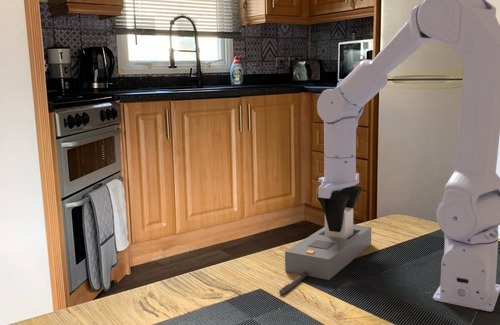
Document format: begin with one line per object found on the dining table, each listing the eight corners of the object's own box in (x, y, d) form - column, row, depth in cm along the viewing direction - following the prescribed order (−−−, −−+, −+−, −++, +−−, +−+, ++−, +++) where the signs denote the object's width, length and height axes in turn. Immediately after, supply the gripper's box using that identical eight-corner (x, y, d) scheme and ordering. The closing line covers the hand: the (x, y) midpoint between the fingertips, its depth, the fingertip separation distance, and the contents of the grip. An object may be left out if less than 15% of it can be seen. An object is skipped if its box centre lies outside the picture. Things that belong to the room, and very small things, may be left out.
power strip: (304, 300, 75) (304, 277, 74) (258, 290, 79) (257, 267, 79) (371, 244, 99) (371, 225, 98) (332, 238, 103) (332, 220, 103)
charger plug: (344, 240, 93) (345, 213, 92) (324, 236, 95) (324, 210, 94) (353, 234, 96) (353, 208, 95) (333, 231, 98) (333, 205, 98)
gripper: (335, 149, 101) (335, 215, 103) (302, 160, 89) (302, 235, 91) (369, 151, 97) (369, 220, 100) (340, 163, 85) (339, 241, 88)
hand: (339, 227), depth 95 cm, fingers closed on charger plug, 4 cm apart
